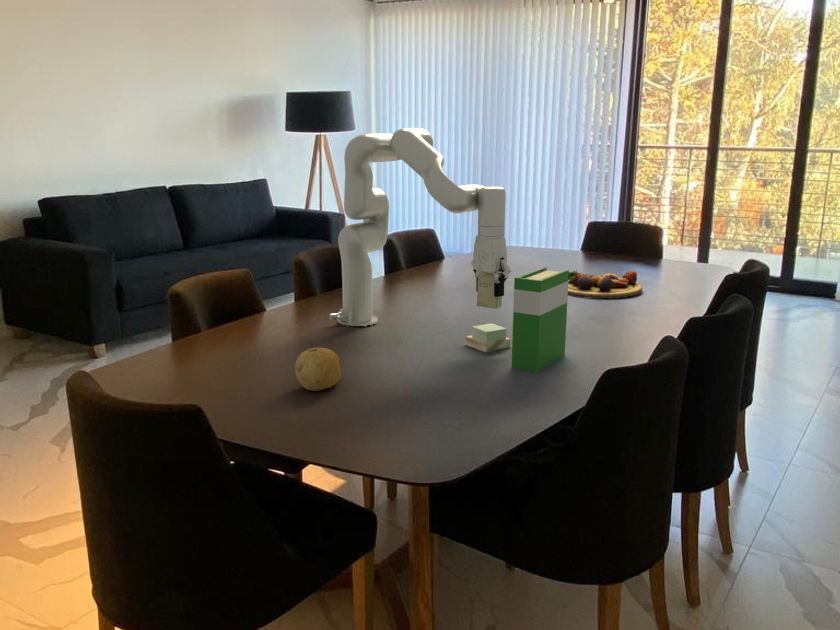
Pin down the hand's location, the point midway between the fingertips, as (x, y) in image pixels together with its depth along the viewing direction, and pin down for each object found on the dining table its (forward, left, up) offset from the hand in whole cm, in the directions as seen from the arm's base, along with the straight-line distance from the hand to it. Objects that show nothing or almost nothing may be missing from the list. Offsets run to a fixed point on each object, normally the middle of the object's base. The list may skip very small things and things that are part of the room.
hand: (489, 293), depth 220 cm
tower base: (0, 0, -16) cm, 16 cm away
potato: (-57, -5, -16) cm, 59 cm away
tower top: (0, 0, -13) cm, 13 cm away
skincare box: (0, 0, -4) cm, 4 cm away
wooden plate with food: (+83, +36, -16) cm, 92 cm away
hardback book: (+2, -19, -16) cm, 25 cm away
